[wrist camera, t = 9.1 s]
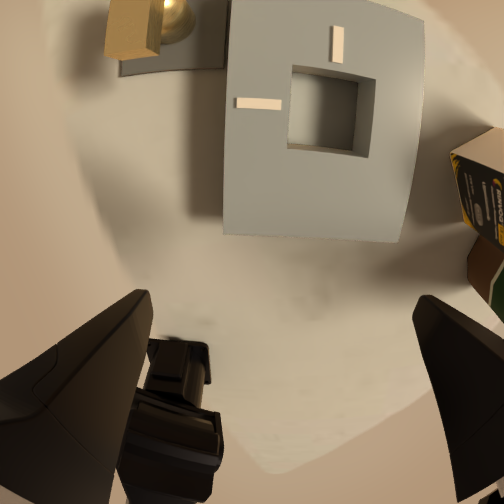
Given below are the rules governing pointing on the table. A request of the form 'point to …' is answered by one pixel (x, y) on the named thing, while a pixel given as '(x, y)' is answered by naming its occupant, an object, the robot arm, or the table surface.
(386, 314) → the table surface
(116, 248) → the table surface
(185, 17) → the t key
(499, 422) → the robot arm
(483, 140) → the medicine bottle
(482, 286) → the beer bottle
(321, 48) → the grey socket block
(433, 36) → the table surface
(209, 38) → the pad
